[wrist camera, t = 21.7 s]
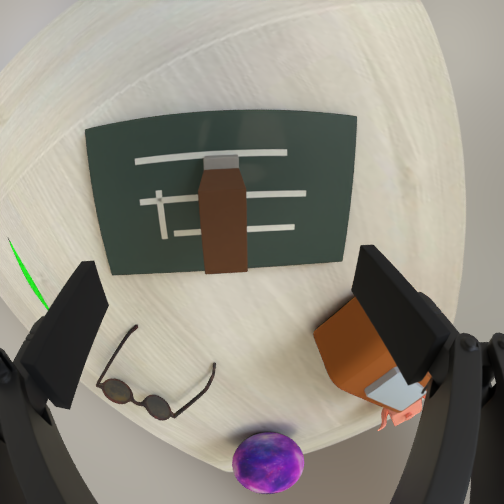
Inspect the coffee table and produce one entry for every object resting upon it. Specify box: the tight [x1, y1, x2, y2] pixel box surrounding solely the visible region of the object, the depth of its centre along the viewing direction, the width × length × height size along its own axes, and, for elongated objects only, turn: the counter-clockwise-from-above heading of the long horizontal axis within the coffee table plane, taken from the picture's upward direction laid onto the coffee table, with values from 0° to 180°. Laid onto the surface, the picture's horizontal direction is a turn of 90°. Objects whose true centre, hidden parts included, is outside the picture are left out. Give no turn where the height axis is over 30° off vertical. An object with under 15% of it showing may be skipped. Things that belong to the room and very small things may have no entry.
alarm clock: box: [313, 297, 432, 413], centre depth 35 cm, size 24×8×11 cm, turn 47°
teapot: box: [377, 395, 426, 431], centre depth 47 cm, size 12×15×8 cm
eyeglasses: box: [96, 325, 216, 420], centre depth 36 cm, size 15×15×5 cm
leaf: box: [8, 238, 49, 310], centre depth 28 cm, size 1×14×1 cm, turn 14°
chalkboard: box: [85, 110, 357, 275], centre depth 26 cm, size 26×16×1 cm, turn 90°
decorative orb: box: [232, 432, 304, 494], centre depth 45 cm, size 15×15×15 cm
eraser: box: [198, 154, 248, 274], centre depth 22 cm, size 8×3×8 cm, turn 0°
